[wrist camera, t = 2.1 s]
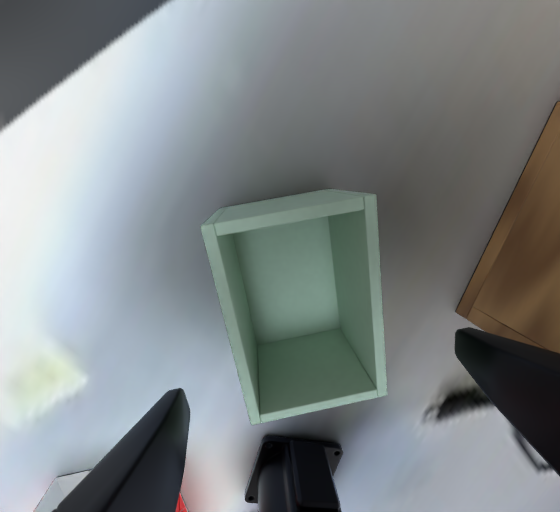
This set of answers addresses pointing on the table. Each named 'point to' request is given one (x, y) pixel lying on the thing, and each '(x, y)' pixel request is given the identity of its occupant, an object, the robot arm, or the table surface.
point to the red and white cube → (66, 485)
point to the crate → (524, 256)
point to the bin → (301, 300)
